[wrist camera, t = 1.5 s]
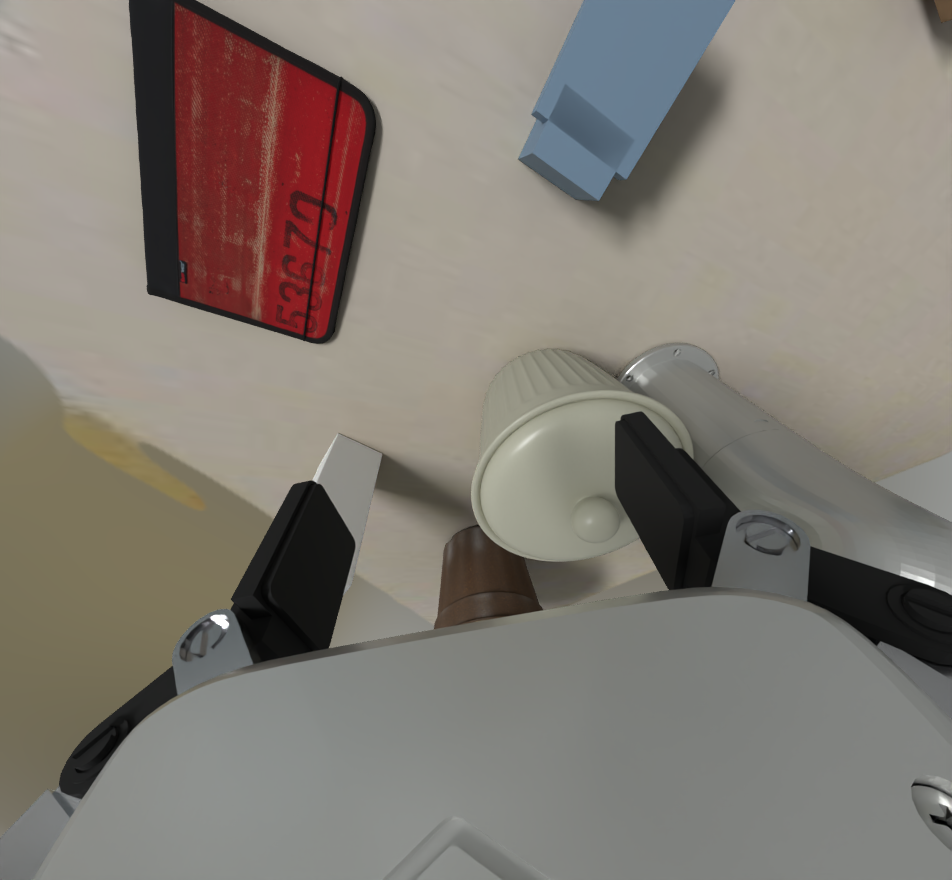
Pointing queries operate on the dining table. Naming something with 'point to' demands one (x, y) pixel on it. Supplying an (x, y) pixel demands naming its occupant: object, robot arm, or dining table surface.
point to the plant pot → (482, 581)
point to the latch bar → (944, 9)
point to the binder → (245, 170)
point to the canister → (557, 457)
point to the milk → (350, 485)
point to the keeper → (615, 88)
